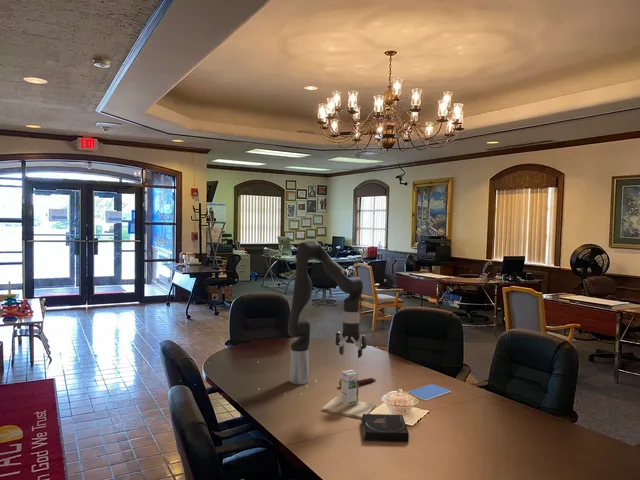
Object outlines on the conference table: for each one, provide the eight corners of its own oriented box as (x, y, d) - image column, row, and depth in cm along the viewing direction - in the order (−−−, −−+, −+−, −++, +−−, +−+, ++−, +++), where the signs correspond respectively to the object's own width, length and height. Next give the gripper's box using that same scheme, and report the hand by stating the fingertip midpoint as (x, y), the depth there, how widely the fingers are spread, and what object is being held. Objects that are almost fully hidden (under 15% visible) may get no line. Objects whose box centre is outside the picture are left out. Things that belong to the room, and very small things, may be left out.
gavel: (369, 372, 246) (382, 377, 238) (368, 381, 246) (382, 386, 238) (339, 378, 233) (352, 383, 225) (338, 387, 233) (351, 393, 225)
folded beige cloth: (321, 410, 204) (321, 408, 204) (335, 398, 217) (335, 396, 217) (364, 419, 195) (364, 417, 195) (375, 406, 209) (375, 404, 209)
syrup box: (347, 406, 206) (348, 374, 206) (340, 401, 211) (341, 370, 211) (358, 404, 209) (358, 372, 208) (351, 399, 214) (351, 368, 213)
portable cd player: (361, 423, 193) (361, 413, 192) (402, 424, 192) (402, 414, 192) (363, 442, 176) (364, 432, 176) (408, 443, 176) (408, 433, 176)
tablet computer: (425, 402, 215) (425, 399, 215) (405, 394, 225) (405, 391, 225) (451, 393, 227) (451, 390, 227) (431, 385, 237) (431, 383, 237)
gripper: (333, 320, 208) (333, 356, 209) (363, 324, 202) (362, 360, 203) (339, 317, 215) (339, 351, 215) (368, 320, 208) (368, 356, 209)
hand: (350, 356), depth 209 cm, fingers open, 8 cm apart
